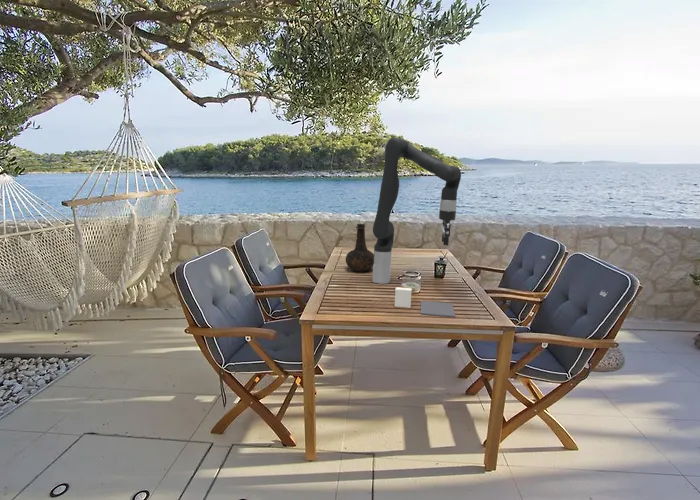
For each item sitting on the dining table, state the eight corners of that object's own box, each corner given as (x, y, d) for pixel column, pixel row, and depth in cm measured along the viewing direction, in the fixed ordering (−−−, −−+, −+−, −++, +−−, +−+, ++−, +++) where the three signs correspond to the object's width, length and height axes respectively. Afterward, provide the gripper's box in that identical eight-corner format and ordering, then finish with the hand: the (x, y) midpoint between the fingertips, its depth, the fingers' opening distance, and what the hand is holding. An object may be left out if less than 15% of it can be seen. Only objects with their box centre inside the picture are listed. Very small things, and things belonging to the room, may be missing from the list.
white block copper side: (394, 306, 173) (395, 289, 171) (395, 303, 176) (395, 287, 174) (410, 307, 171) (411, 290, 170) (410, 305, 175) (411, 288, 173)
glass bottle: (376, 267, 241) (378, 222, 236) (373, 274, 224) (375, 226, 219) (348, 265, 244) (349, 221, 239) (342, 272, 227) (343, 225, 221)
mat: (420, 314, 164) (420, 313, 163) (420, 302, 179) (420, 300, 179) (455, 317, 161) (455, 315, 161) (452, 304, 177) (452, 303, 177)
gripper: (438, 207, 189) (435, 240, 193) (440, 210, 176) (437, 245, 179) (454, 208, 188) (451, 241, 192) (457, 211, 175) (454, 246, 178)
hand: (444, 243), depth 185 cm, fingers open, 8 cm apart
